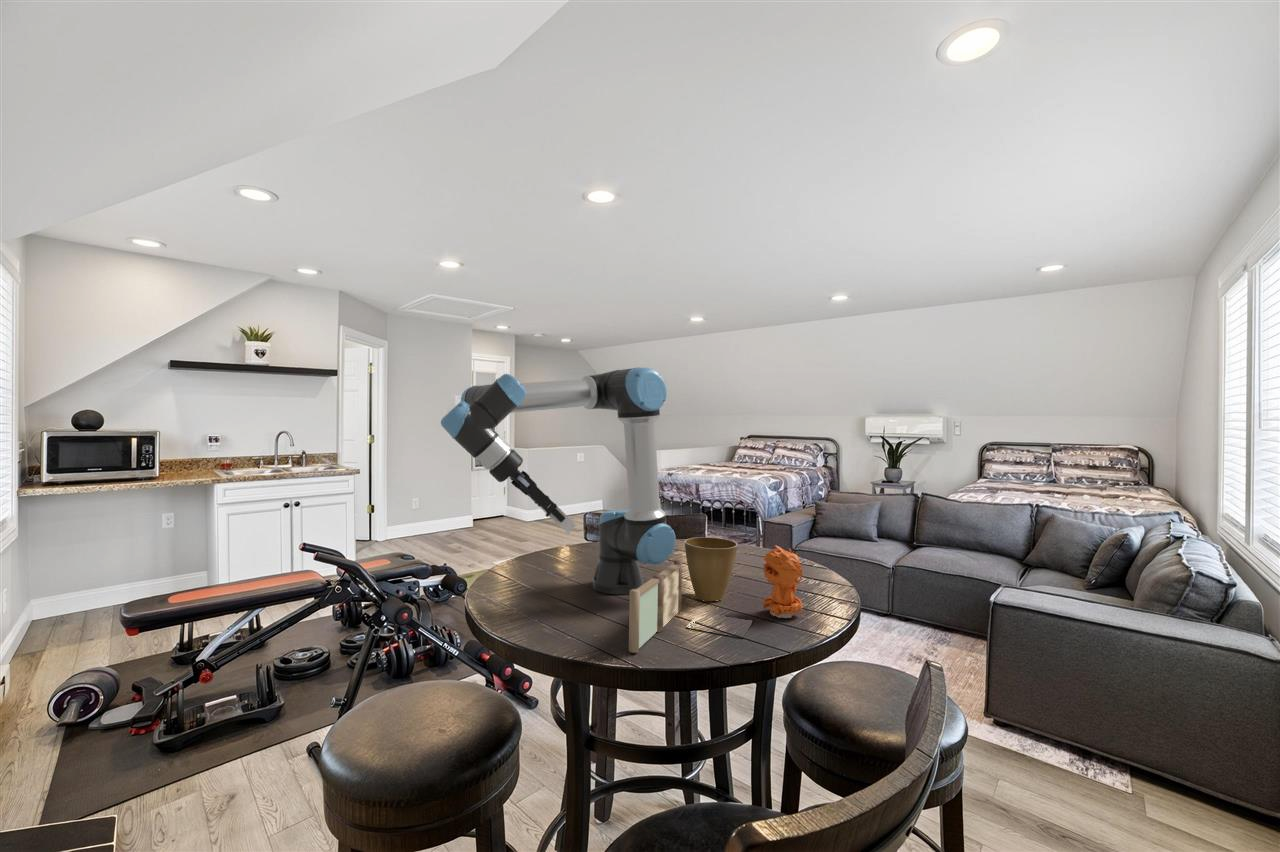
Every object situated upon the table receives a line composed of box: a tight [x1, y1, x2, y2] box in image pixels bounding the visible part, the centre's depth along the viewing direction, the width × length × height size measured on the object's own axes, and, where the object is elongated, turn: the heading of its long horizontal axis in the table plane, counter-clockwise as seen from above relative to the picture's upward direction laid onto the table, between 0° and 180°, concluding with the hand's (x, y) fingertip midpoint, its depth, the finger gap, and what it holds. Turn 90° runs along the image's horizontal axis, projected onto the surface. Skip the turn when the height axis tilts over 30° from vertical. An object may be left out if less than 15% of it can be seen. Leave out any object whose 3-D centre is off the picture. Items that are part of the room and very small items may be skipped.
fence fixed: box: [652, 559, 683, 633], centre depth 136 cm, size 16×3×14 cm, turn 156°
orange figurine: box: [762, 544, 804, 616], centre depth 142 cm, size 11×11×18 cm
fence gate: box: [628, 577, 659, 654], centre depth 122 cm, size 13×2×13 cm, turn 156°
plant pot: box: [684, 536, 738, 602], centre depth 154 cm, size 15×15×16 cm
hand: (567, 525), depth 130 cm, fingers open, 8 cm apart
